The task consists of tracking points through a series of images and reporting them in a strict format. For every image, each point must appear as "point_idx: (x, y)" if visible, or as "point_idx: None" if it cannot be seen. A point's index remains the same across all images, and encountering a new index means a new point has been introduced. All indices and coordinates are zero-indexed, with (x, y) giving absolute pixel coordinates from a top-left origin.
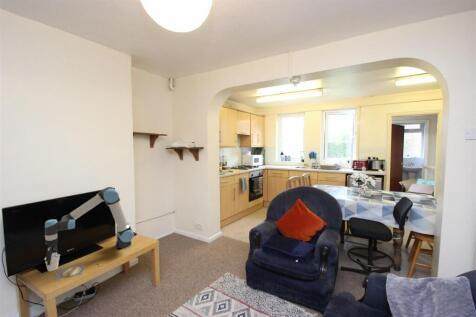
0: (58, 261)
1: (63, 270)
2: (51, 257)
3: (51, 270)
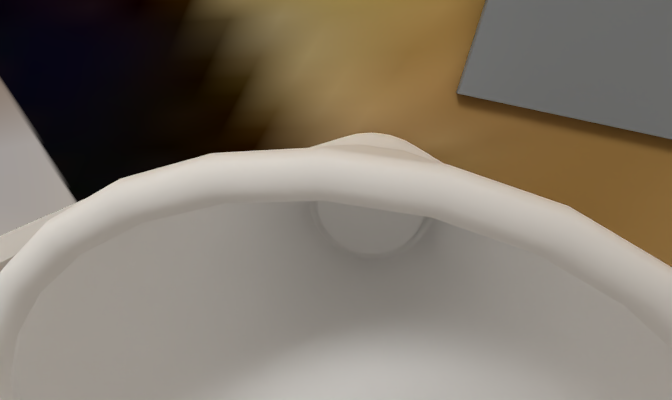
0: (405, 149)
1: (611, 4)
2: (147, 387)
3: (448, 232)
